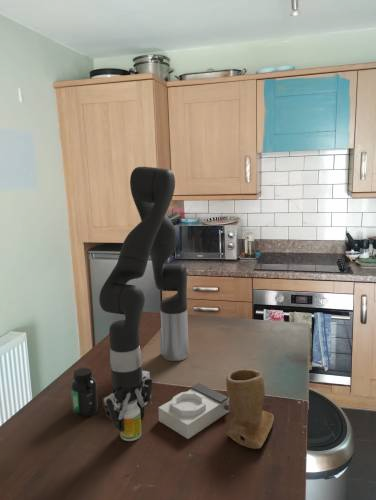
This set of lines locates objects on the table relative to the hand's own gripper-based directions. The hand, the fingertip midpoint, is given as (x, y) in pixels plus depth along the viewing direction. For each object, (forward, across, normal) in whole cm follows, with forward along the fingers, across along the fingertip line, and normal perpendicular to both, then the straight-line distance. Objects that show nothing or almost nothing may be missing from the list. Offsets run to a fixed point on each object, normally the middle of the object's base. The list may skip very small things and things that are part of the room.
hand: (130, 424), depth 107 cm
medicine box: (+4, -11, -12) cm, 17 cm away
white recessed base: (+3, -17, +6) cm, 18 cm away
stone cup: (+3, -22, +20) cm, 30 cm away
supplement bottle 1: (+3, +2, -18) cm, 18 cm away
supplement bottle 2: (+3, 0, 0) cm, 3 cm away
